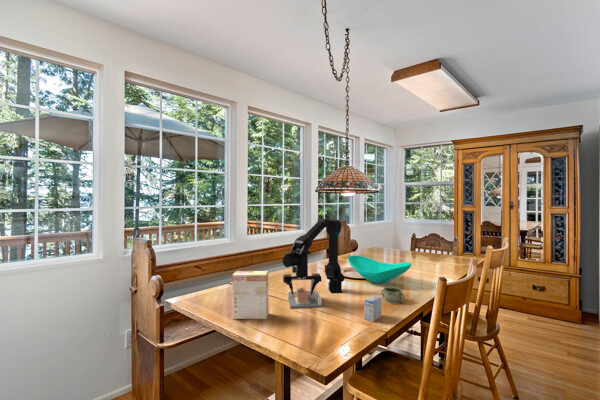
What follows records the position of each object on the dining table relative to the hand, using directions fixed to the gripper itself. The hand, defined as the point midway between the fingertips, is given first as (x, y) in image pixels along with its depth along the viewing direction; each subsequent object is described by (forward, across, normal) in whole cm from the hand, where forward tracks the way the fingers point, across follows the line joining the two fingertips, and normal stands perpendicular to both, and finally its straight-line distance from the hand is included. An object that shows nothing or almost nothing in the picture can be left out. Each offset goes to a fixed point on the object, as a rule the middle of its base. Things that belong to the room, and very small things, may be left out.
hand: (302, 295), depth 154 cm
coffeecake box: (+4, +24, +14) cm, 29 cm away
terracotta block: (+2, 0, 0) cm, 2 cm away
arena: (+4, -1, 0) cm, 4 cm away
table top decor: (+4, -50, -30) cm, 59 cm away
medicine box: (+4, -28, +22) cm, 37 cm away
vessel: (+4, -46, +4) cm, 46 cm away
